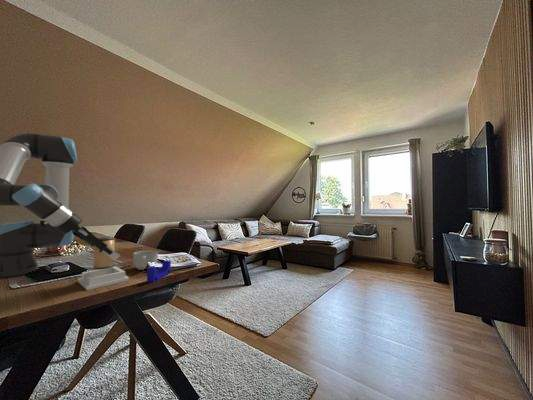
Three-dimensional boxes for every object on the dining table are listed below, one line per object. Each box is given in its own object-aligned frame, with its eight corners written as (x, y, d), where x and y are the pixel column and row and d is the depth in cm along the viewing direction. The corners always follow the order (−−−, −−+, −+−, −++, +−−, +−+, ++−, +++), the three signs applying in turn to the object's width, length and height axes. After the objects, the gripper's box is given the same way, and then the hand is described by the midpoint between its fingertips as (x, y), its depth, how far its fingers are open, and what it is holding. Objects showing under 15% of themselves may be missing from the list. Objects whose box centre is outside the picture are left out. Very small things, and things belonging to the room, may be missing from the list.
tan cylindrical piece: (90, 267, 92) (91, 238, 92) (111, 264, 97) (111, 236, 98) (95, 270, 87) (96, 239, 88) (116, 266, 93) (117, 237, 93)
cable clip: (161, 273, 104) (161, 260, 104) (170, 273, 103) (170, 260, 104) (143, 282, 92) (144, 267, 92) (153, 282, 92) (154, 268, 92)
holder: (77, 281, 92) (78, 272, 92) (117, 273, 102) (117, 265, 103) (86, 290, 83) (87, 280, 83) (128, 280, 94) (129, 271, 94)
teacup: (138, 265, 116) (138, 250, 116) (160, 265, 118) (160, 249, 118) (126, 274, 102) (126, 256, 102) (151, 273, 104) (152, 255, 104)
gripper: (49, 226, 87) (99, 260, 99) (59, 229, 75) (114, 268, 87) (68, 212, 92) (113, 246, 104) (79, 213, 79) (130, 252, 91)
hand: (113, 256), depth 95 cm, fingers closed on tan cylindrical piece, 7 cm apart
